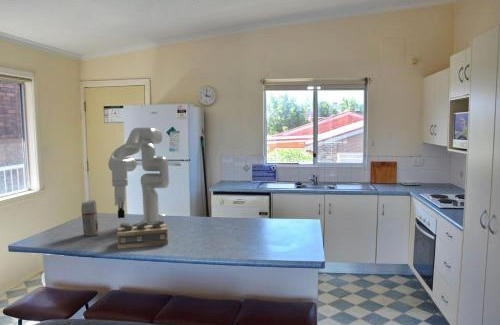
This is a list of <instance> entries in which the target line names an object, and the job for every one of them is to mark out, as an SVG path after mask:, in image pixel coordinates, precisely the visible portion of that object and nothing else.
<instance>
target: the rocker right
mask: <svg viewBox="0 0 500 325" xmlns="http://www.w3.org/2000/svg"><path fill="white" fill-rule="evenodd" d="M163 219H164V218H161V220H159V221H156V222H154V223H152V224H151V225H152V226H153V227H156V223H160V225H162V224H165V223H164V220H163Z"/></svg>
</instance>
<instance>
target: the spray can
mask: <svg viewBox="0 0 500 325" xmlns="http://www.w3.org/2000/svg"><path fill="white" fill-rule="evenodd" d="M80 211H81V216H82V228H83V236H84V237H92V236H94V237H95V236H97V235H99V222H98V212H97V203H96V199H95V200H94V199H89V200H87V201H85V202H82V203H81V210H80Z"/></svg>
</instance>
